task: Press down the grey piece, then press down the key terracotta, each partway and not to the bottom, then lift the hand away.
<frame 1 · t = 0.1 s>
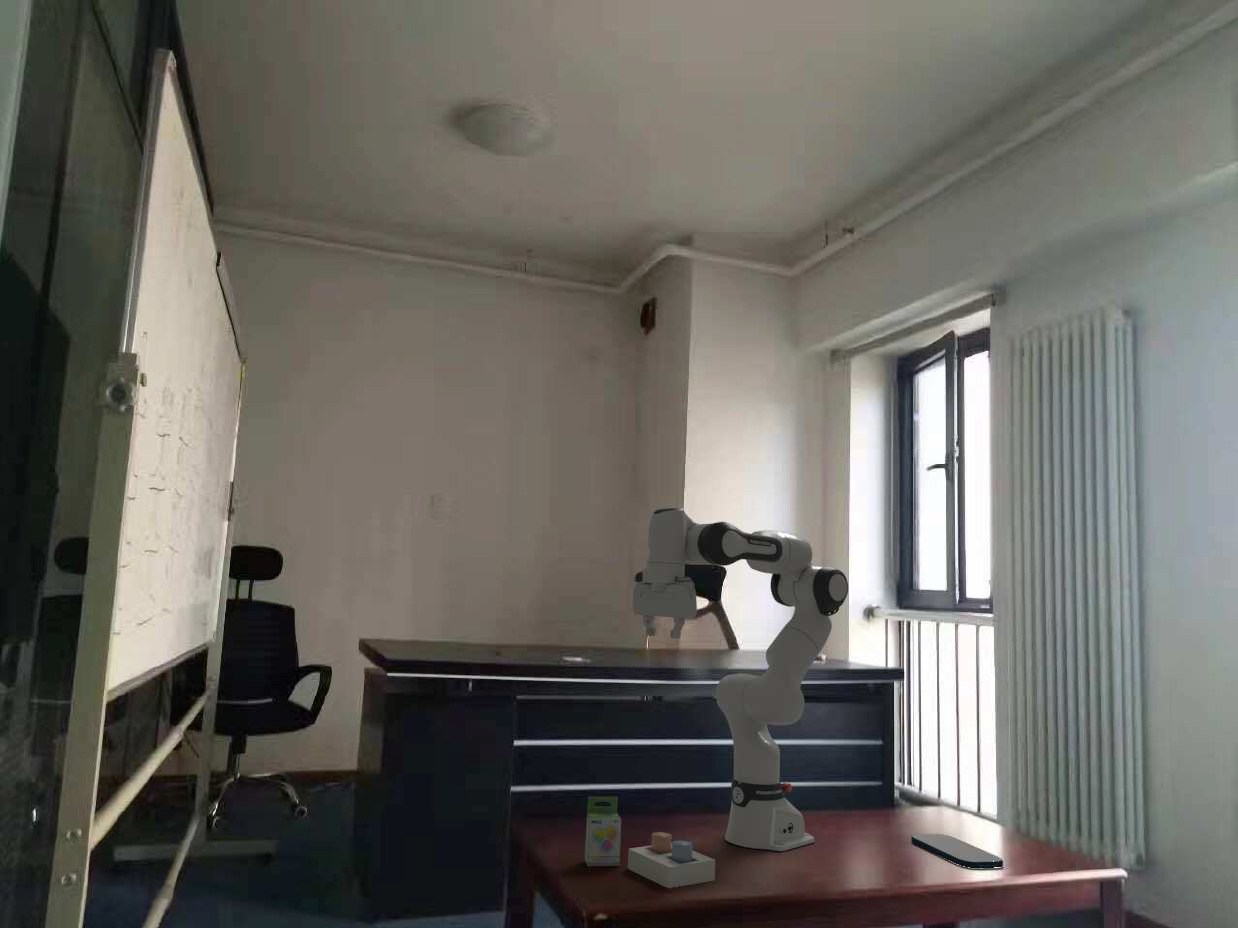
hand: (662, 636, 203), 48 cm above the table, fingers open, 8 cm apart
grey piece: (682, 853, 181), point 5 cm above the table, slide at 0.0 cm
key terracotta: (661, 844, 187), point 5 cm above the table, slide at 0.0 cm
external hard drive: (955, 856, 211), on the table
keypad housing: (670, 874, 184), on the table
ink box: (601, 865, 188), on the table
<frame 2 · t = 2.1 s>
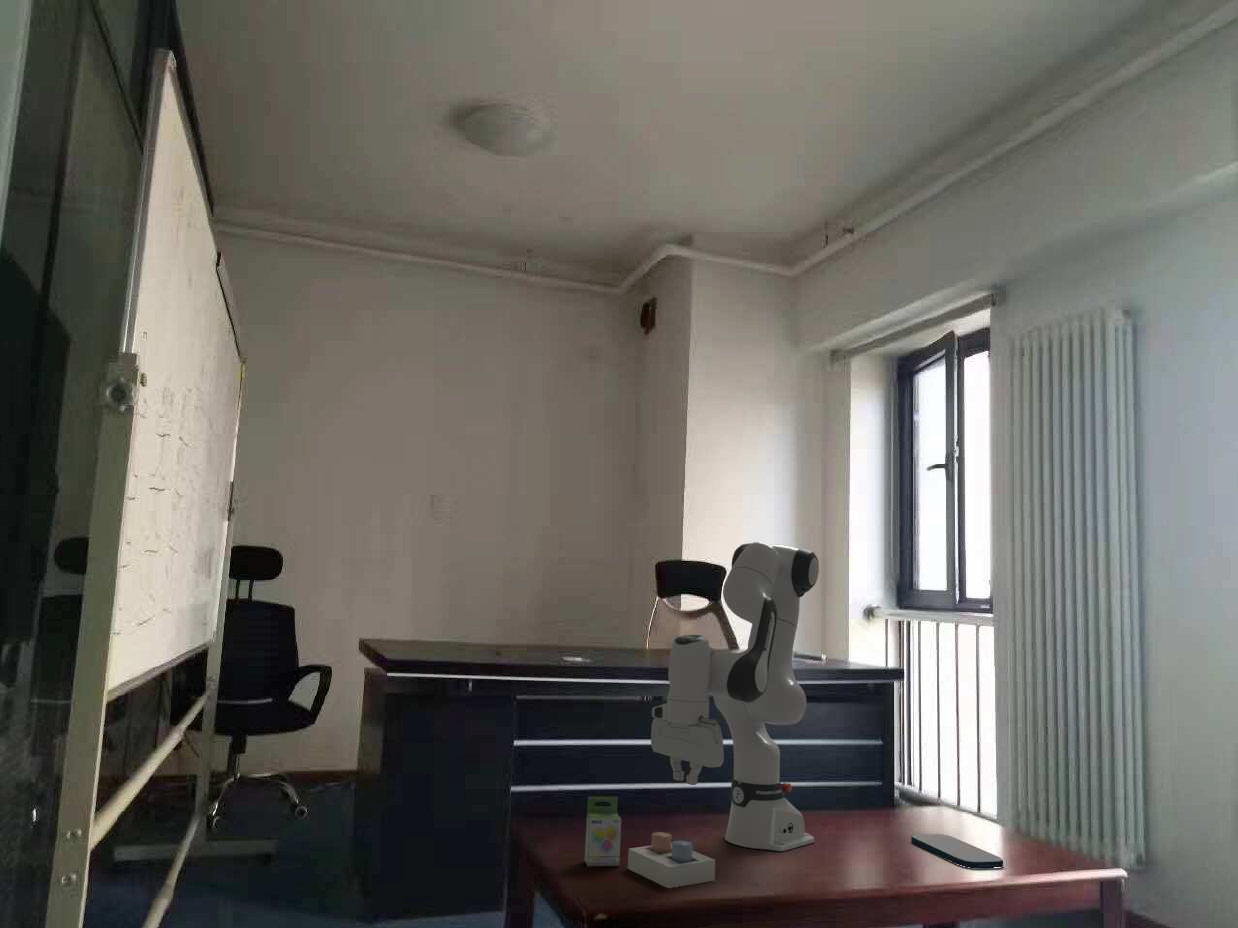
hand: (685, 782, 184), 19 cm above the table, fingers open, 3 cm apart
nothing on the table moved.
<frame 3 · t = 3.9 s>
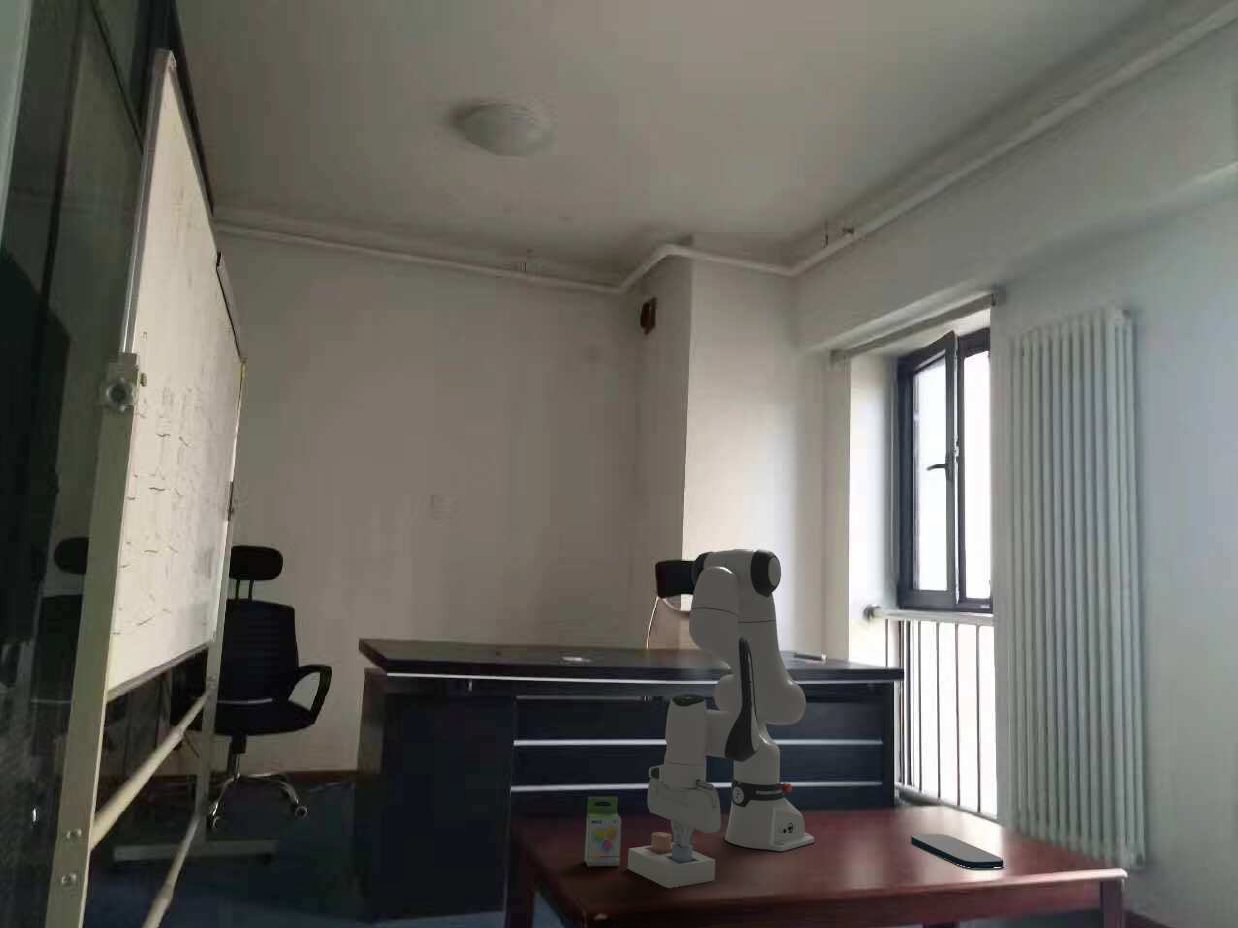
hand: (681, 845, 182), 7 cm above the table, fingers closed, pressing on grey piece
grey piece: (681, 855, 181), point 5 cm above the table, slide at 0.5 cm, touching gripper
everything else where it was.
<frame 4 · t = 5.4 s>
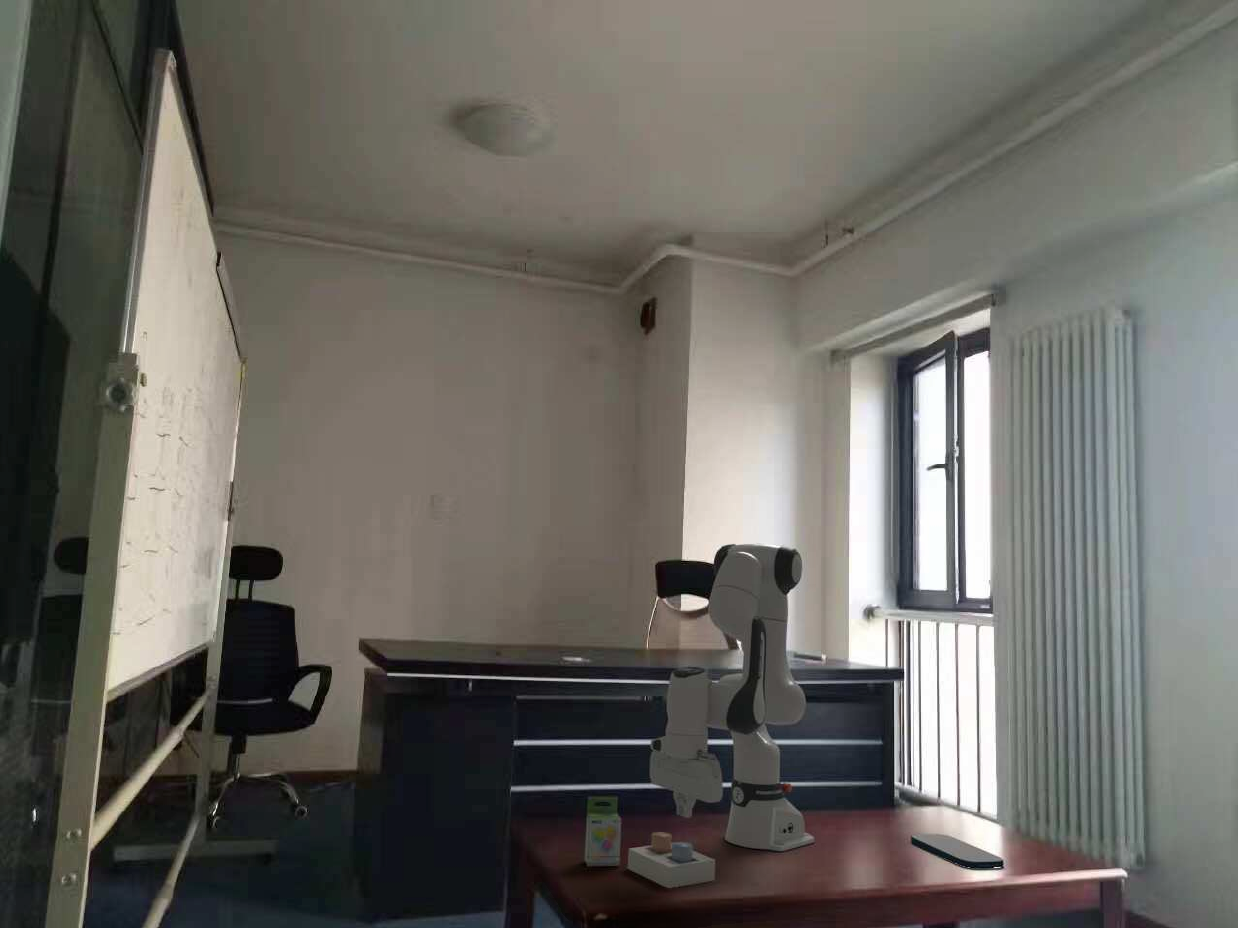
hand: (684, 815, 183), 12 cm above the table, fingers closed
grey piece: (682, 854, 181), point 5 cm above the table, slide at 0.3 cm
everything else where it was.
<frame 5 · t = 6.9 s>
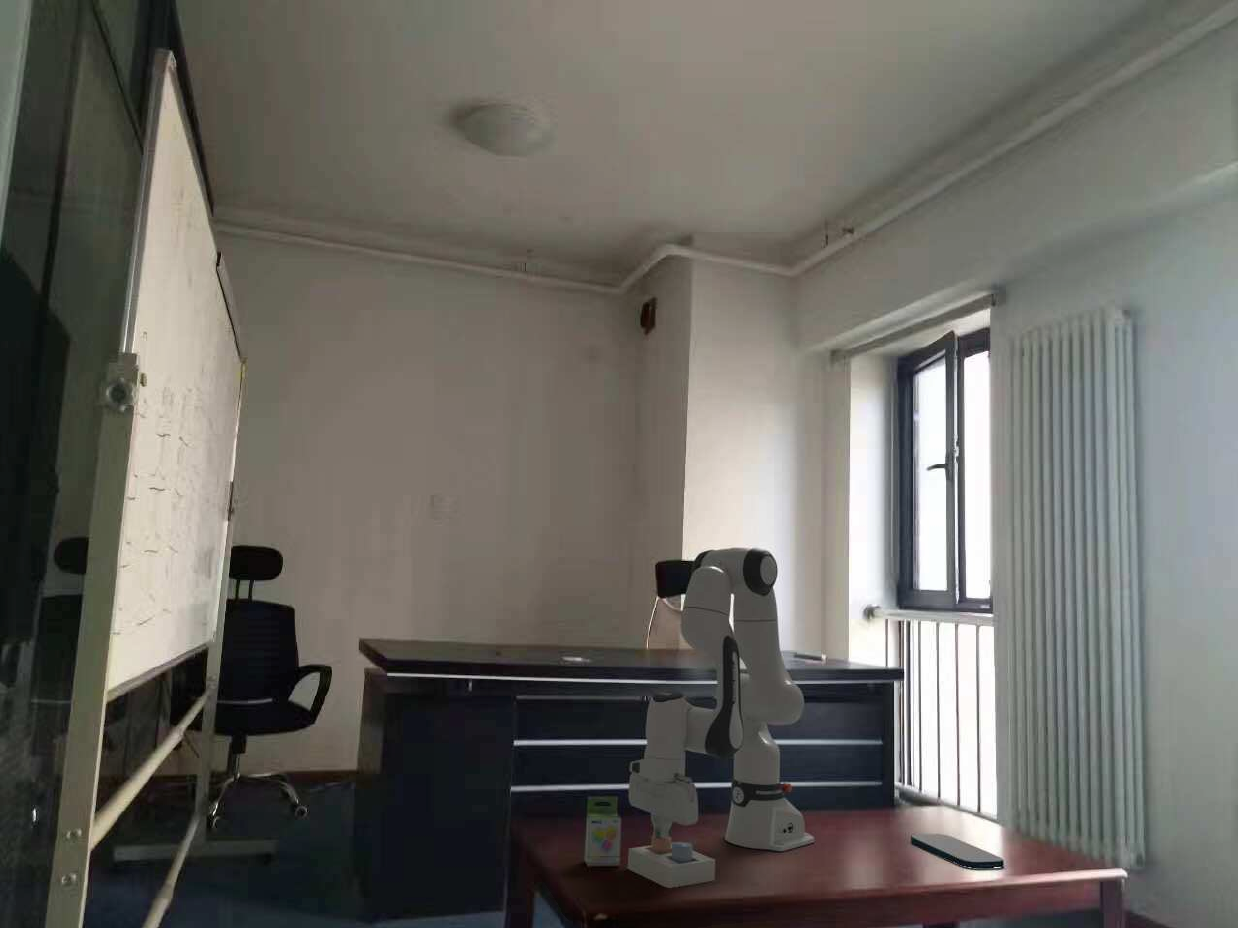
hand: (660, 837, 187), 6 cm above the table, fingers closed, pressing on key terracotta
key terracotta: (661, 847, 187), point 4 cm above the table, slide at 0.6 cm, touching gripper
everything else where it was.
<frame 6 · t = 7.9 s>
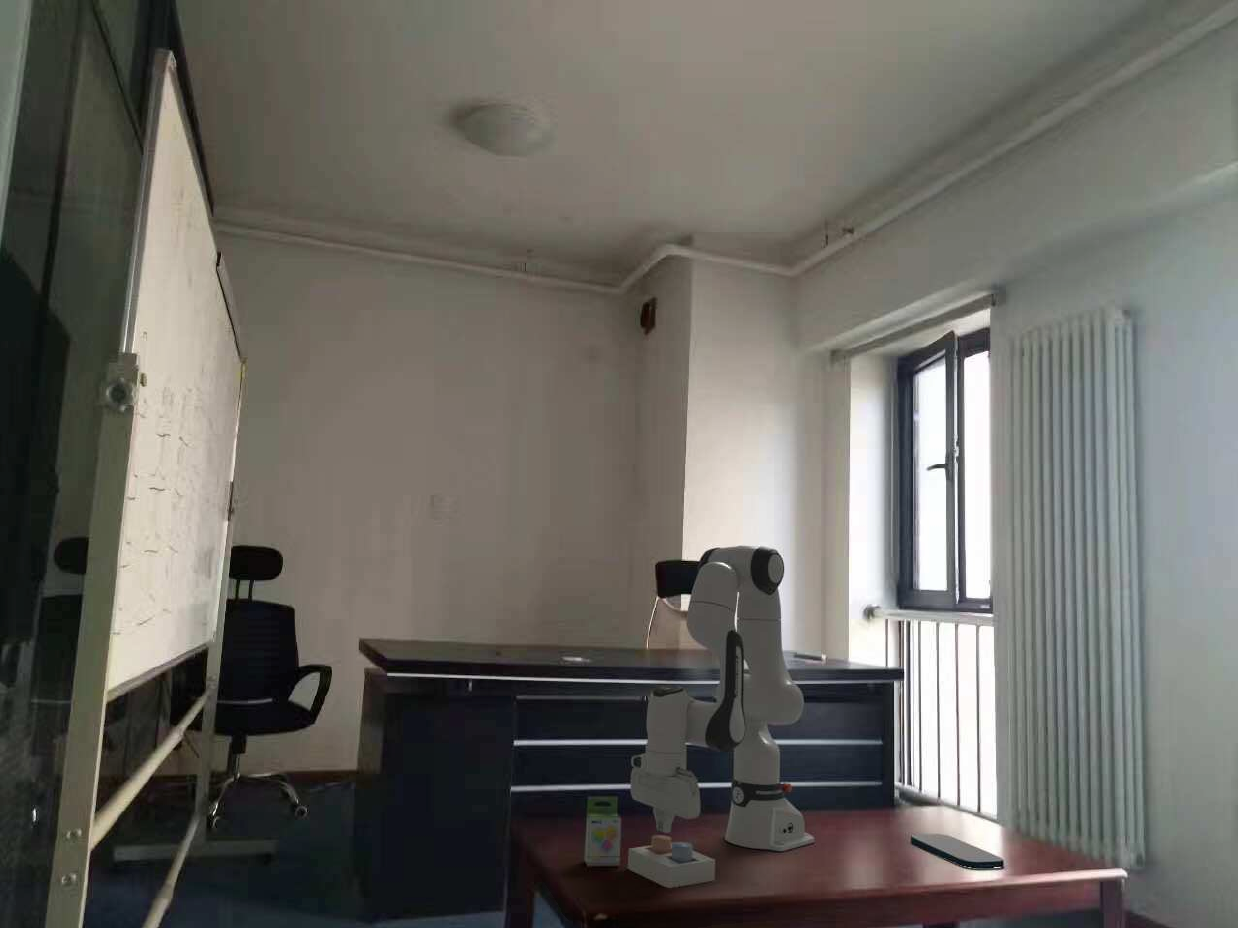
hand: (663, 830, 188), 8 cm above the table, fingers closed
key terracotta: (661, 847, 187), point 4 cm above the table, slide at 0.6 cm
everything else where it was.
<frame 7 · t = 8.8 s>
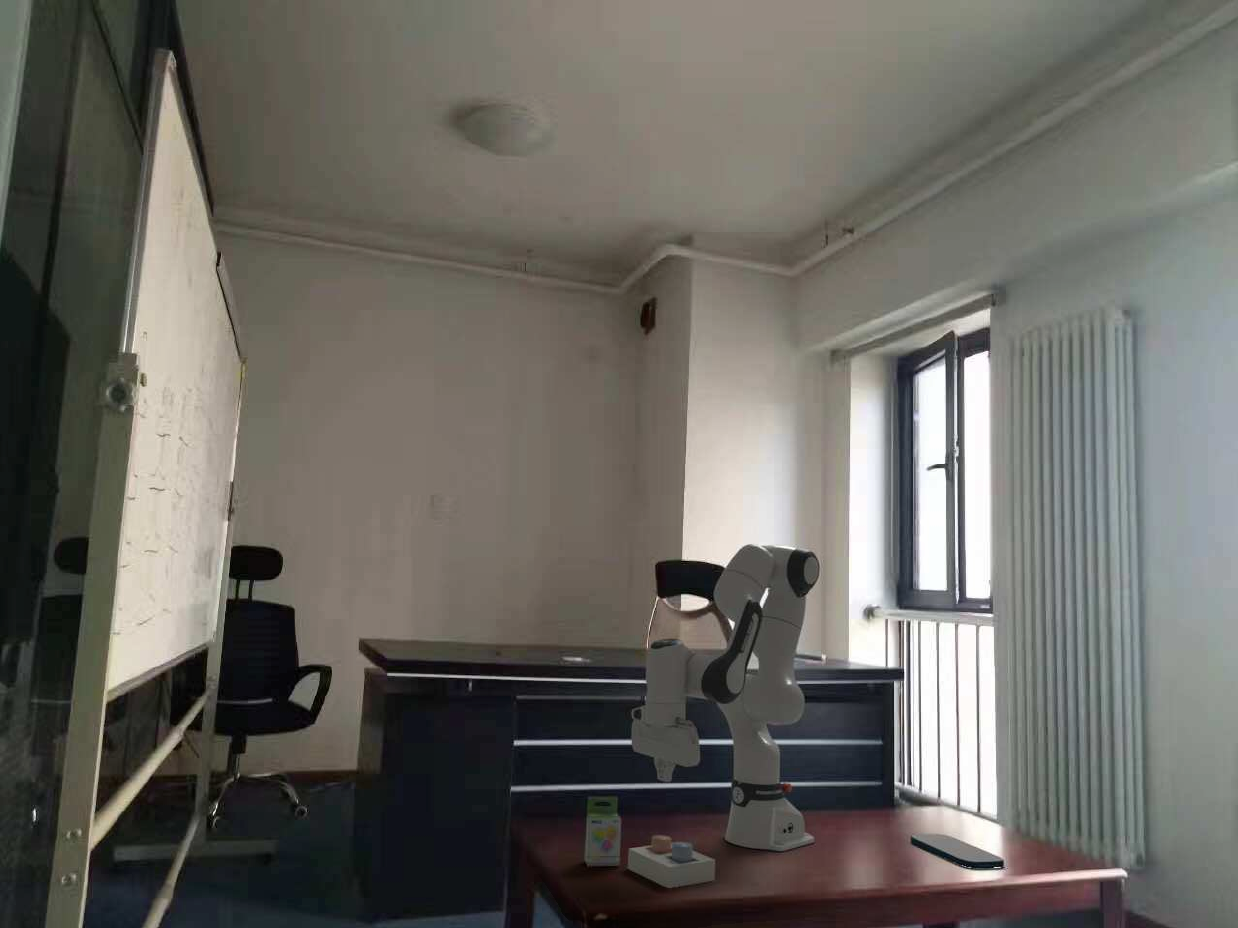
hand: (664, 780, 191), 18 cm above the table, fingers closed
nothing on the table moved.
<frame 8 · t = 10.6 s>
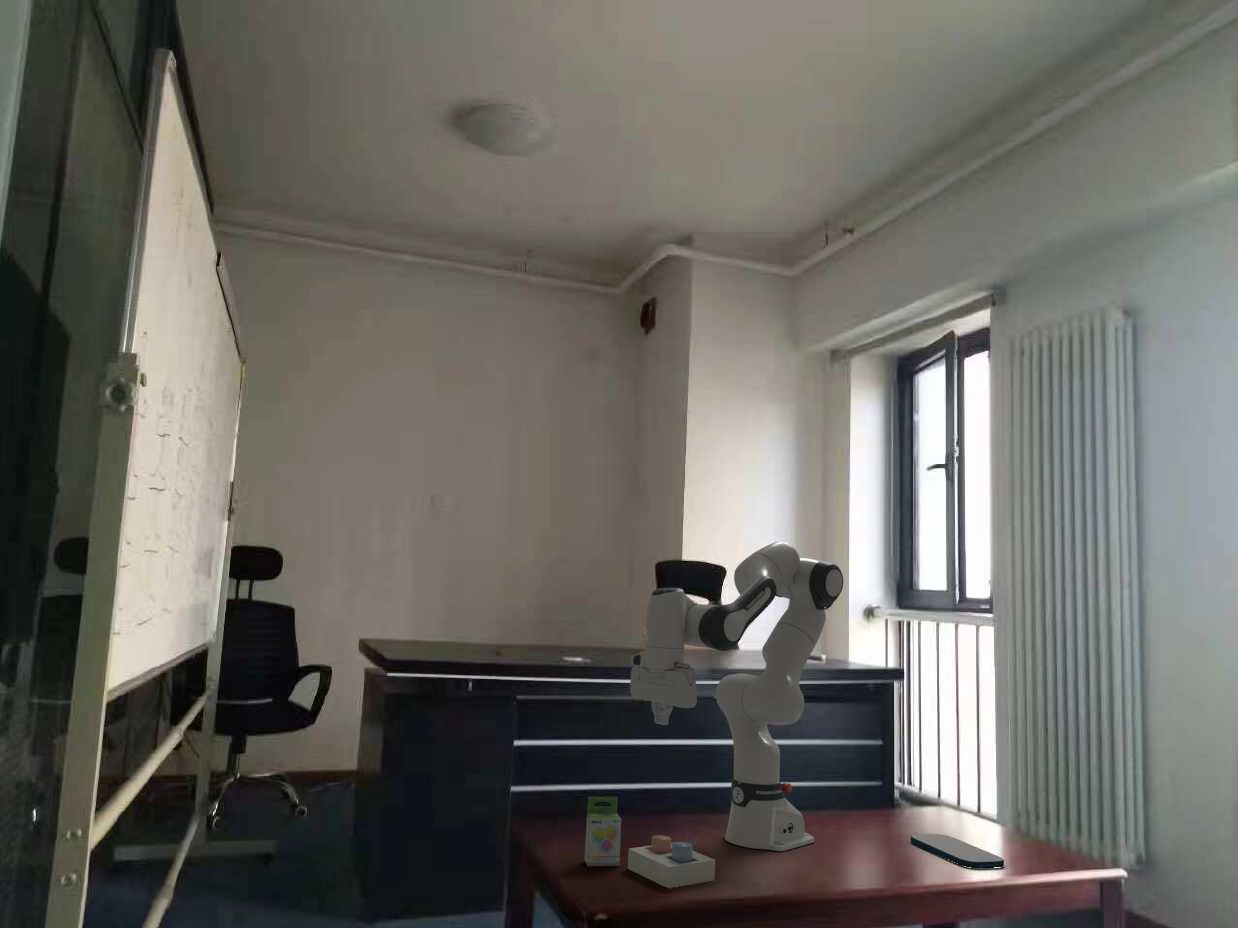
hand: (661, 723, 196), 29 cm above the table, fingers closed
nothing on the table moved.
at the end: grey piece slide at 0.3 cm; key terracotta slide at 0.6 cm; ink box moved 0.2 cm from its start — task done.
